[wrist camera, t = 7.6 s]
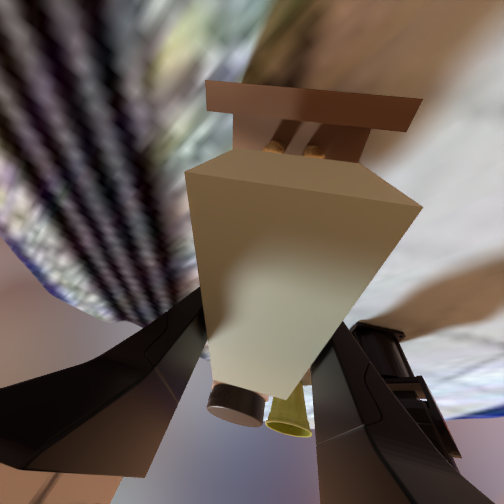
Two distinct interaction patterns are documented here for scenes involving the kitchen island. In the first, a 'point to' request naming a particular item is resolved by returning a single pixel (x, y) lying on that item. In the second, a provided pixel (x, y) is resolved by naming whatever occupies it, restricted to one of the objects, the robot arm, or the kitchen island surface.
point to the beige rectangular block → (285, 257)
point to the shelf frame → (307, 118)
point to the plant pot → (290, 414)
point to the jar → (237, 404)
